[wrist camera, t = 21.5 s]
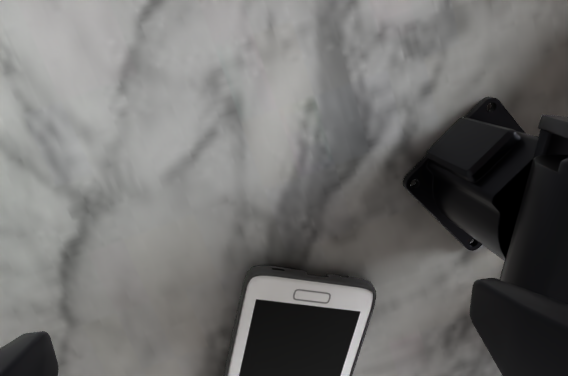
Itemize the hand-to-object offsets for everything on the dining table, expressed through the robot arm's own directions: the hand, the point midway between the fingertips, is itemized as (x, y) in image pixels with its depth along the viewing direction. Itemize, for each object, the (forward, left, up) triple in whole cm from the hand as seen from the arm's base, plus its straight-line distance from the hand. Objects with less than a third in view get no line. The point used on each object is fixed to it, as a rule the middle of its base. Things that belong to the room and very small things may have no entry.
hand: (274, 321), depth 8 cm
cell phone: (-11, +8, -13) cm, 19 cm away
